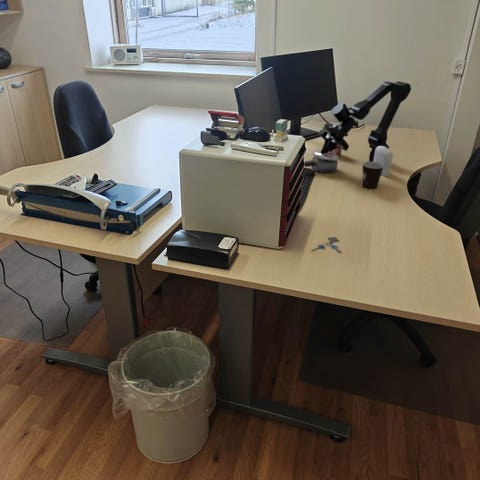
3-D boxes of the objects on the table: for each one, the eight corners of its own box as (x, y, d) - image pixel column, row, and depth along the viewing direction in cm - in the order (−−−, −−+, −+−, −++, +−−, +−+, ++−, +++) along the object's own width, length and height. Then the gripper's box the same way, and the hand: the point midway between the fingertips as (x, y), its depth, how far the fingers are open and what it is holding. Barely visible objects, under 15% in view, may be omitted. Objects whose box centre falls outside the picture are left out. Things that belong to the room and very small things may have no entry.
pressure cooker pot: (327, 163, 220) (328, 154, 217) (341, 171, 210) (342, 161, 208) (295, 168, 213) (296, 158, 211) (308, 176, 204) (309, 166, 201)
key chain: (330, 236, 155) (331, 234, 155) (352, 244, 151) (352, 241, 150) (309, 252, 146) (310, 250, 145) (332, 260, 141) (332, 258, 141)
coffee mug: (380, 191, 190) (384, 169, 185) (359, 189, 192) (363, 167, 187) (378, 181, 200) (382, 160, 195) (358, 179, 201) (362, 158, 197)
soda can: (337, 157, 228) (340, 134, 222) (325, 155, 232) (327, 132, 226) (343, 154, 233) (346, 131, 227) (331, 151, 237) (333, 129, 231)
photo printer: (390, 175, 207) (395, 150, 200) (382, 176, 205) (387, 150, 199) (378, 168, 215) (382, 143, 209) (370, 169, 214) (374, 144, 208)
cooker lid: (329, 153, 217) (330, 149, 216) (343, 161, 208) (344, 156, 207) (308, 152, 212) (309, 147, 211) (322, 160, 203) (323, 155, 202)
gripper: (324, 112, 209) (301, 137, 211) (346, 121, 194) (322, 148, 196) (336, 127, 216) (314, 151, 217) (359, 137, 201) (335, 163, 202)
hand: (321, 153), depth 208 cm, fingers closed
